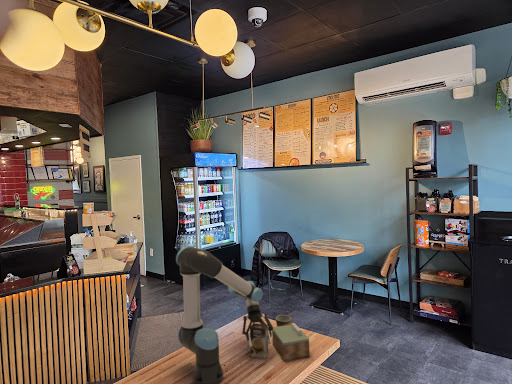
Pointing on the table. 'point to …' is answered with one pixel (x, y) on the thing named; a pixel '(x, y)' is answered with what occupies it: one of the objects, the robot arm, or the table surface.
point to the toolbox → (291, 349)
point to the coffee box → (259, 340)
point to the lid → (290, 334)
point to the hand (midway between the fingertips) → (260, 344)
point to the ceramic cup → (283, 320)
